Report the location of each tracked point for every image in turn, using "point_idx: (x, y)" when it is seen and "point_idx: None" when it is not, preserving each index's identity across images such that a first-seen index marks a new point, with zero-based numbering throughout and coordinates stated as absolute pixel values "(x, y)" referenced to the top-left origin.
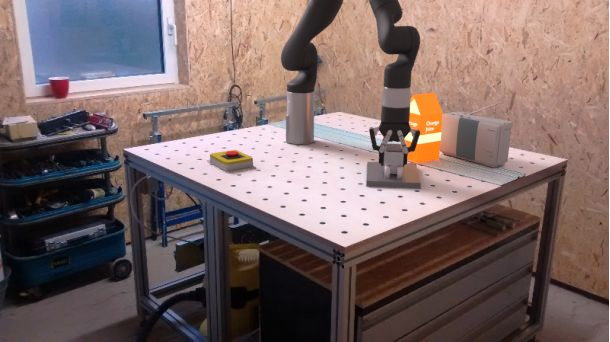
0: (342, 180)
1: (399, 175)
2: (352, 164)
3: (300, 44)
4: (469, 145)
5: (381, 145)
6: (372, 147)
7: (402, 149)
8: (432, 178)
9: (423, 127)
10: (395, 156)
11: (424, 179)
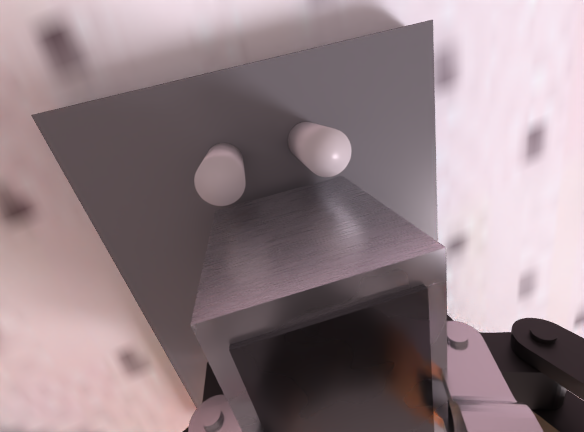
0: (537, 98)
1: (218, 147)
2: None
3: None
4: None
5: (506, 387)
6: (571, 333)
7: (248, 425)
8: (79, 326)
9: None
10: (290, 260)
11: (114, 294)
